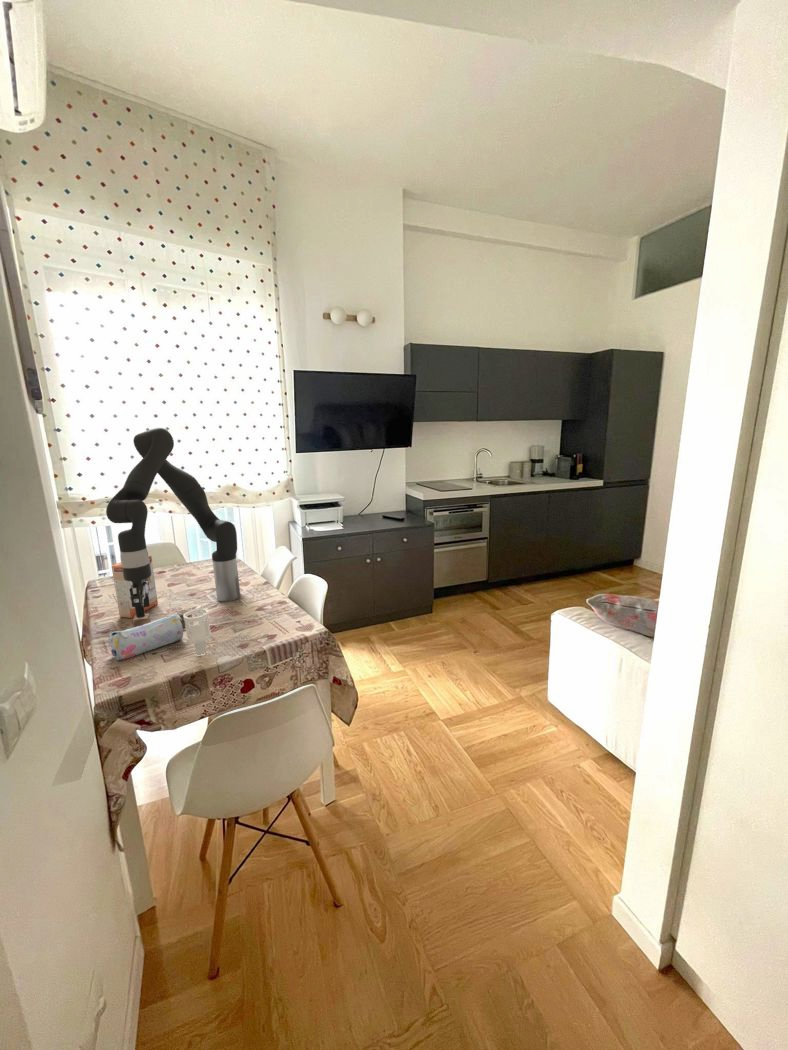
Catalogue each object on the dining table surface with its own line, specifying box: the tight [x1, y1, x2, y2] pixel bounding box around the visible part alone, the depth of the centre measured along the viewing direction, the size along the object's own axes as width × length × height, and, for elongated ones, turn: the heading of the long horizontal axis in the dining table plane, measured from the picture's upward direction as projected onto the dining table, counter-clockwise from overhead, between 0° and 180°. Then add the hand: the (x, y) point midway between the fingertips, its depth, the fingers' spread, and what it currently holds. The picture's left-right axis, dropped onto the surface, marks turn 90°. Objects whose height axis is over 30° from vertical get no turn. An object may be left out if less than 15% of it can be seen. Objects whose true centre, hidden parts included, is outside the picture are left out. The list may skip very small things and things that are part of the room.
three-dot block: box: [132, 612, 152, 628], centre depth 154 cm, size 4×4×5 cm
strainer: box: [183, 605, 212, 655], centre depth 134 cm, size 7×7×15 cm
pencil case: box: [108, 613, 184, 661], centre depth 139 cm, size 21×9×10 cm, turn 132°
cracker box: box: [111, 555, 159, 619], centre depth 167 cm, size 14×6×21 cm, turn 168°
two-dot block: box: [175, 608, 193, 627], centre depth 157 cm, size 4×4×5 cm
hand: (143, 611), depth 137 cm, fingers open, 8 cm apart
